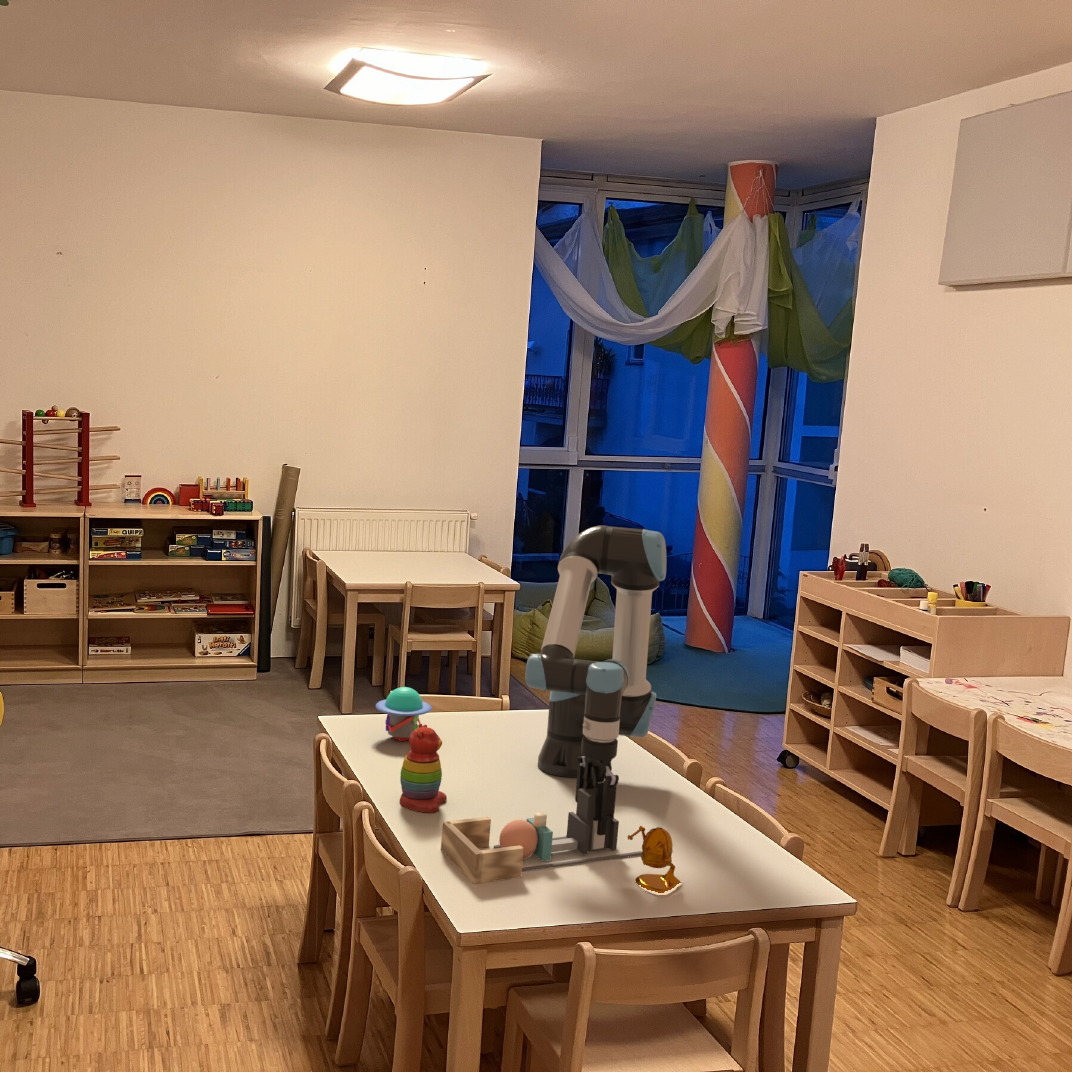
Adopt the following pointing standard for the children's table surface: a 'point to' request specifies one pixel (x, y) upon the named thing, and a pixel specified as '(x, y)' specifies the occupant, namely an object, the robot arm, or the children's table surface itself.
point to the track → (576, 860)
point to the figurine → (656, 859)
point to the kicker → (574, 829)
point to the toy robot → (403, 712)
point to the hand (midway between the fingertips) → (591, 842)
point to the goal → (479, 851)
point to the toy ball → (519, 836)
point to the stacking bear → (422, 772)
